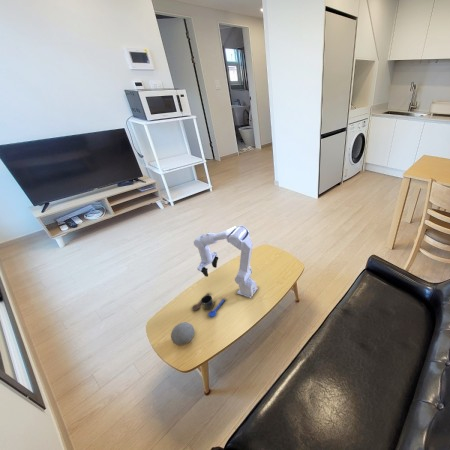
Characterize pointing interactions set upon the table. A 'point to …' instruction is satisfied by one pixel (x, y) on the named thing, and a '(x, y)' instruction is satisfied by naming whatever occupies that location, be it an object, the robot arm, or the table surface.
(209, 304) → the dark metal cup
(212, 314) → the blue spoon
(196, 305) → the wooden spoon
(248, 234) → the robot arm
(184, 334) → the decorative ball
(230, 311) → the table surface
